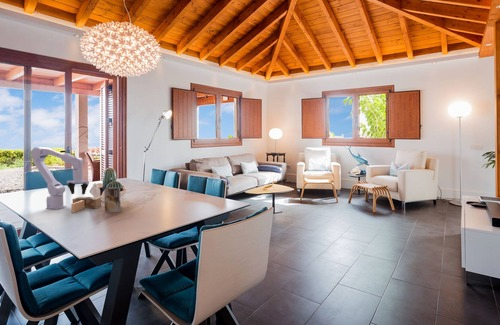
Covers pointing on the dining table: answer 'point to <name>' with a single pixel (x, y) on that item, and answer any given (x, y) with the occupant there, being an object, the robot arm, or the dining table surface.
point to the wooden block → (89, 201)
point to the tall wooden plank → (78, 206)
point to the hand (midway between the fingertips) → (78, 194)
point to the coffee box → (112, 200)
